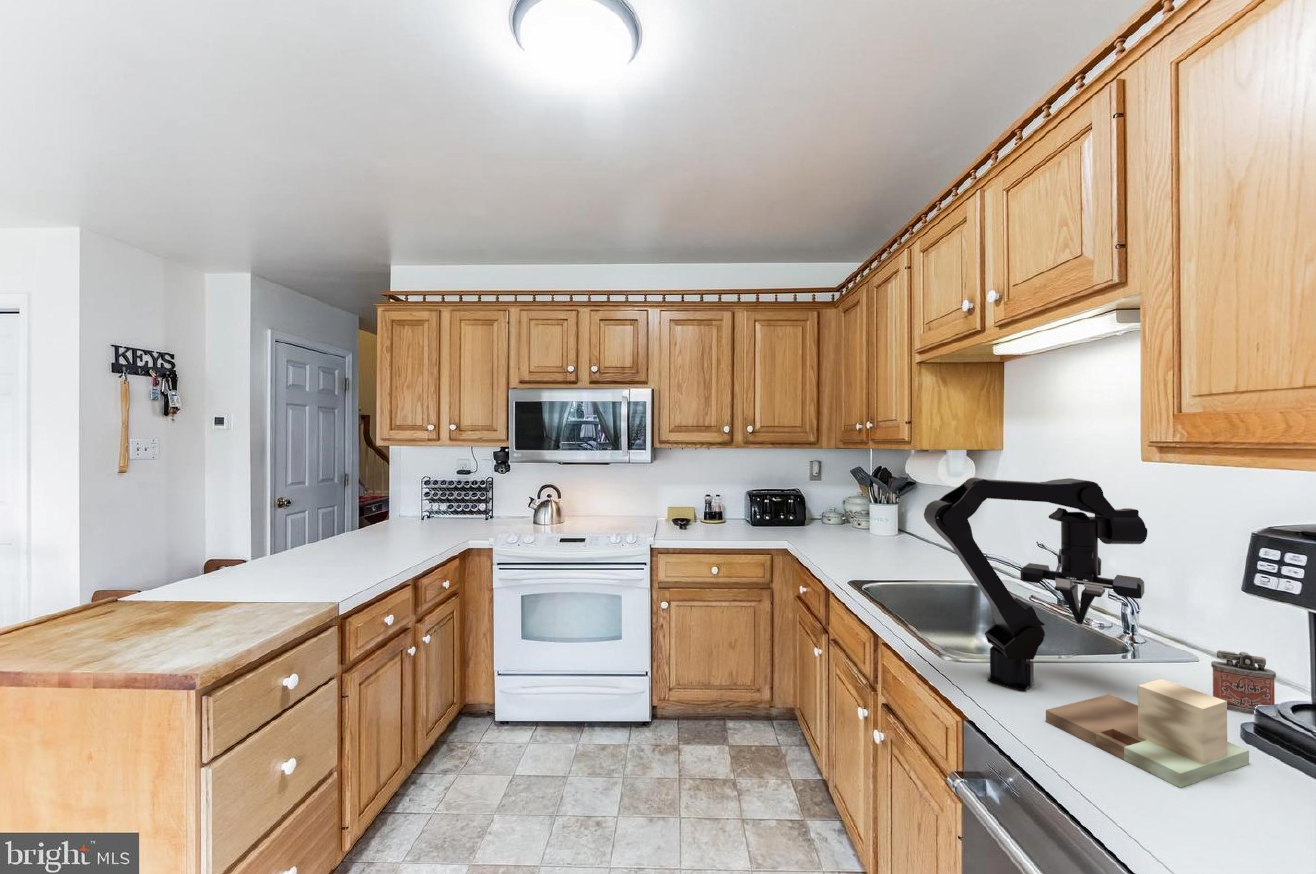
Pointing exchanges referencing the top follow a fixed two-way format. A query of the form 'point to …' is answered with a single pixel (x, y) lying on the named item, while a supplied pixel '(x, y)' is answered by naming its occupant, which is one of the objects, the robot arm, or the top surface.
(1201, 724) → the maple block
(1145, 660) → the top surface
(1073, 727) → the board
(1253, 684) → the lighter
